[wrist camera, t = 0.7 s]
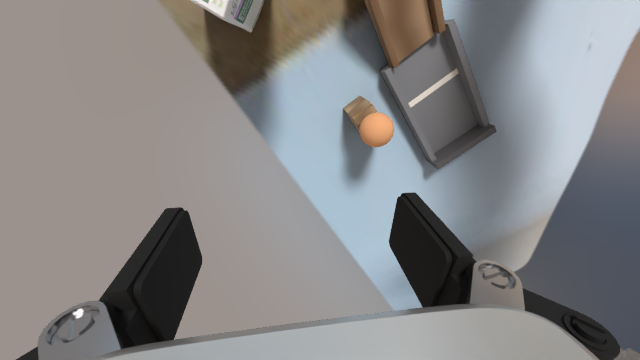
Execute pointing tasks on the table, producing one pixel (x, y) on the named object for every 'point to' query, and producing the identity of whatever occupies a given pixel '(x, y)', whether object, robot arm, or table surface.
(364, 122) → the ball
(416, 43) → the ramp
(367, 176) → the table surface
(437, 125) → the lane
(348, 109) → the wooden upright block
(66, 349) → the robot arm
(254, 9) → the syrup box
